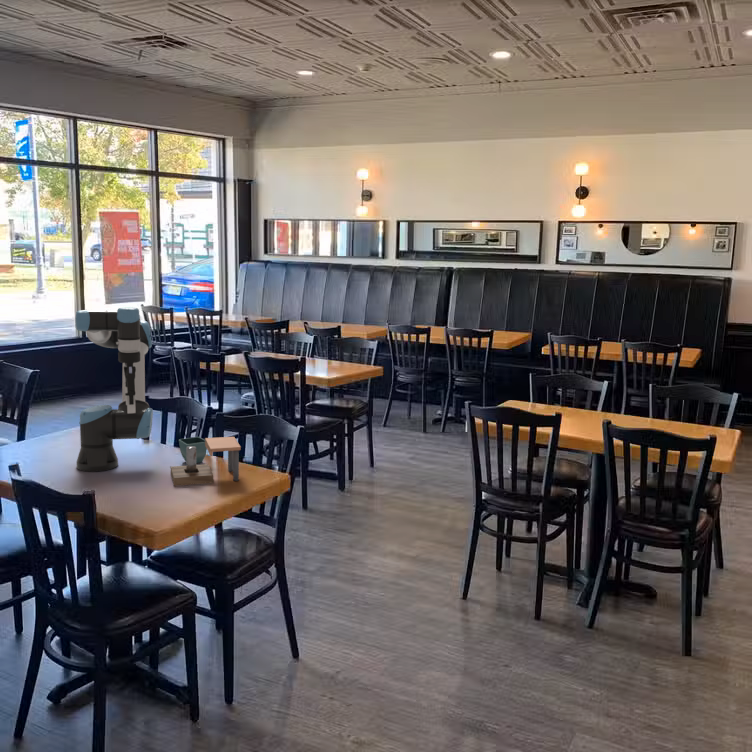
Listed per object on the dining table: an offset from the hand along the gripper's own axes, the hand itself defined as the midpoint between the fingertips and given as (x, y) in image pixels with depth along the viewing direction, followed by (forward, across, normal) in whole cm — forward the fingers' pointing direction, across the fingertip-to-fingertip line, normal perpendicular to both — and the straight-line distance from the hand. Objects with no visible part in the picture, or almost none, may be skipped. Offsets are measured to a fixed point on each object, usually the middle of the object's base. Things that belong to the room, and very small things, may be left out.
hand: (130, 408), depth 276 cm
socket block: (+27, +4, +21) cm, 34 cm away
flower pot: (+27, -17, +24) cm, 40 cm away
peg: (+27, +4, +21) cm, 34 cm away
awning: (+27, +4, +32) cm, 42 cm away
